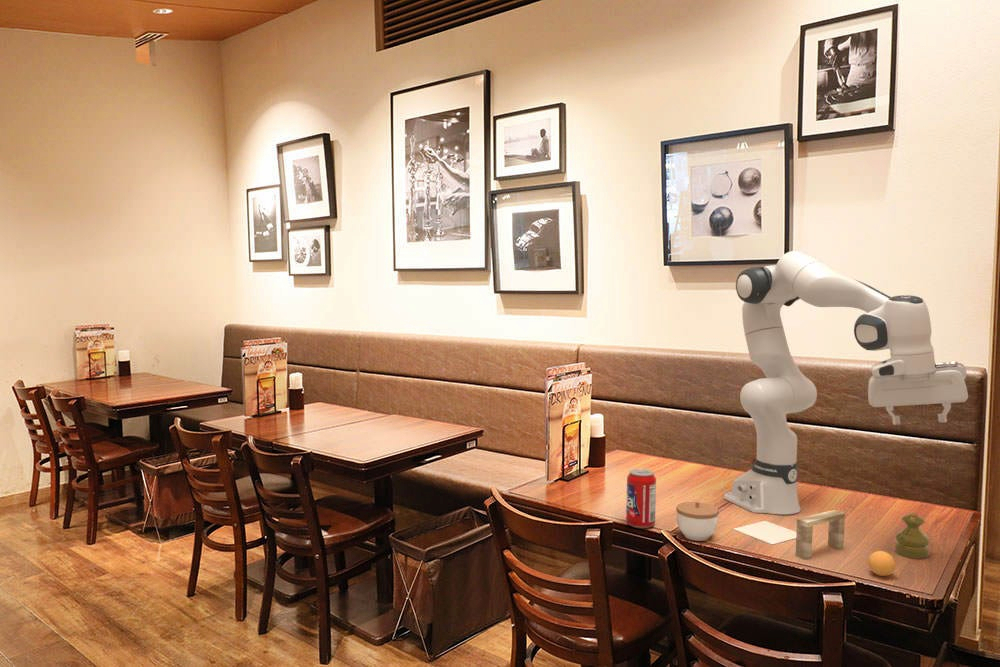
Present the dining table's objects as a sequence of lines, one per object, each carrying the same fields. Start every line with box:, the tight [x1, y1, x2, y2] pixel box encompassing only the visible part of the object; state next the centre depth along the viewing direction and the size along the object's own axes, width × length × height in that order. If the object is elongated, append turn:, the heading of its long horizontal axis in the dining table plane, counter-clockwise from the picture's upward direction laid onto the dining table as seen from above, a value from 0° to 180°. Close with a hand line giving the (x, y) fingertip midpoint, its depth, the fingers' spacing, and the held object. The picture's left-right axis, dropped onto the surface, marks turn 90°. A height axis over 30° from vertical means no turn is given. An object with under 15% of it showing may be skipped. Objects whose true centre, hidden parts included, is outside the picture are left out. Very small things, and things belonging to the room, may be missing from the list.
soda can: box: [625, 468, 657, 529], centre depth 200 cm, size 8×8×15 cm
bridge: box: [795, 509, 846, 561], centre depth 181 cm, size 3×14×9 cm, turn 120°
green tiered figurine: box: [894, 513, 931, 560], centre depth 180 cm, size 7×7×10 cm
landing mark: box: [732, 520, 797, 546], centre depth 195 cm, size 13×13×1 cm
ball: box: [868, 550, 896, 577], centre depth 168 cm, size 6×6×6 cm
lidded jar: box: [675, 500, 719, 542], centre depth 191 cm, size 11×11×9 cm
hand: (919, 423), depth 170 cm, fingers open, 8 cm apart
